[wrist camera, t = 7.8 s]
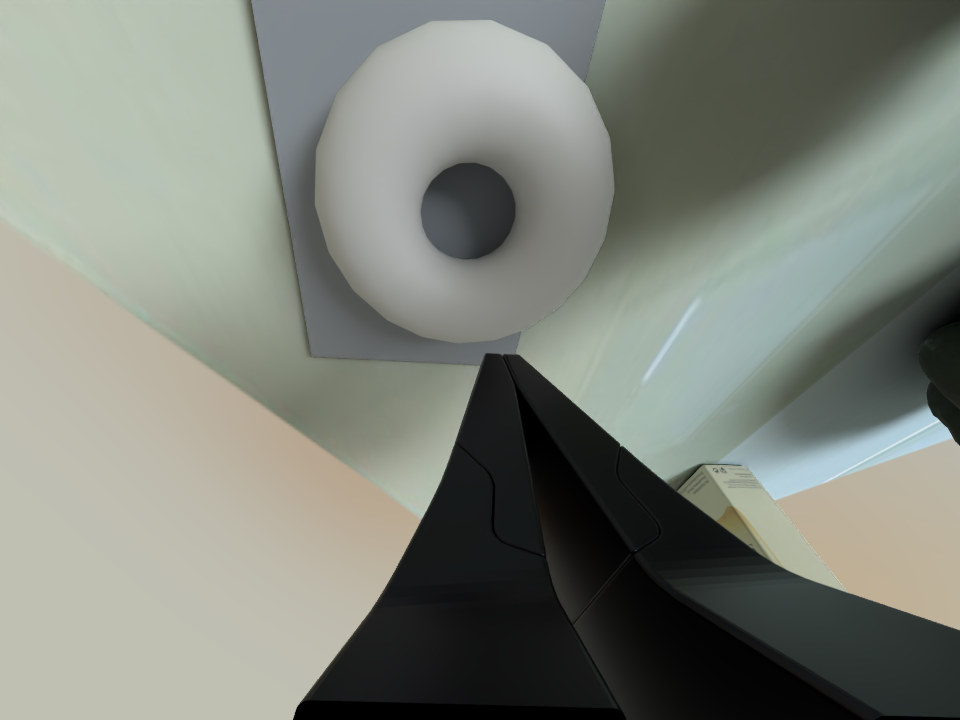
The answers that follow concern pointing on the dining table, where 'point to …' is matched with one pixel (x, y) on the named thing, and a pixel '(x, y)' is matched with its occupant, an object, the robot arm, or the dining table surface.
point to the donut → (463, 139)
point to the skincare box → (755, 519)
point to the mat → (451, 194)
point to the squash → (943, 375)
